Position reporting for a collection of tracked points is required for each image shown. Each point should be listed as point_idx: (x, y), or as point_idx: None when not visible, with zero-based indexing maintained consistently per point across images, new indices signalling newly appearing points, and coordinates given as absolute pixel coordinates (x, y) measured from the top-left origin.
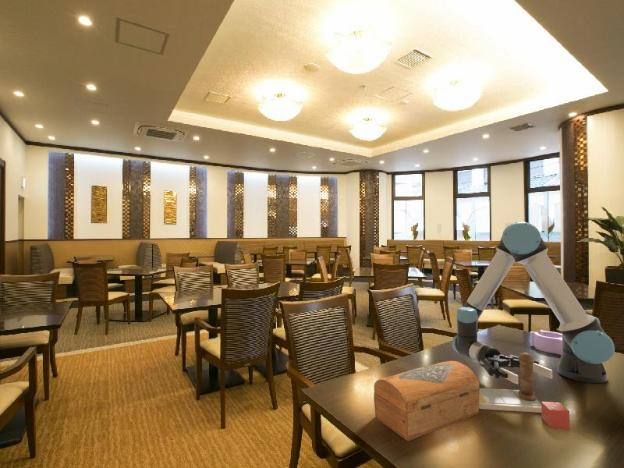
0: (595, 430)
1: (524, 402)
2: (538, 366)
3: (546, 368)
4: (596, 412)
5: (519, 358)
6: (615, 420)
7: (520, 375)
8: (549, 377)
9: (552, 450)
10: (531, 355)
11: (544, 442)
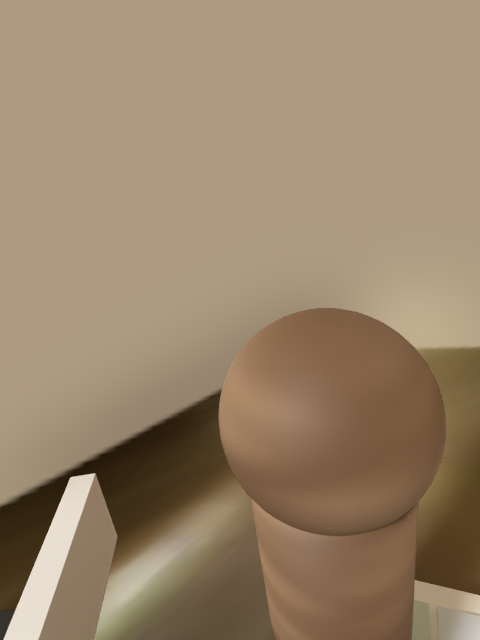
0: (209, 438)
1: (416, 638)
2: (46, 638)
3: (70, 519)
4: (33, 546)
5: (441, 397)
6: (54, 483)
7: (413, 604)
8: (114, 540)
9: (442, 374)
10: (261, 330)
11: (450, 398)
